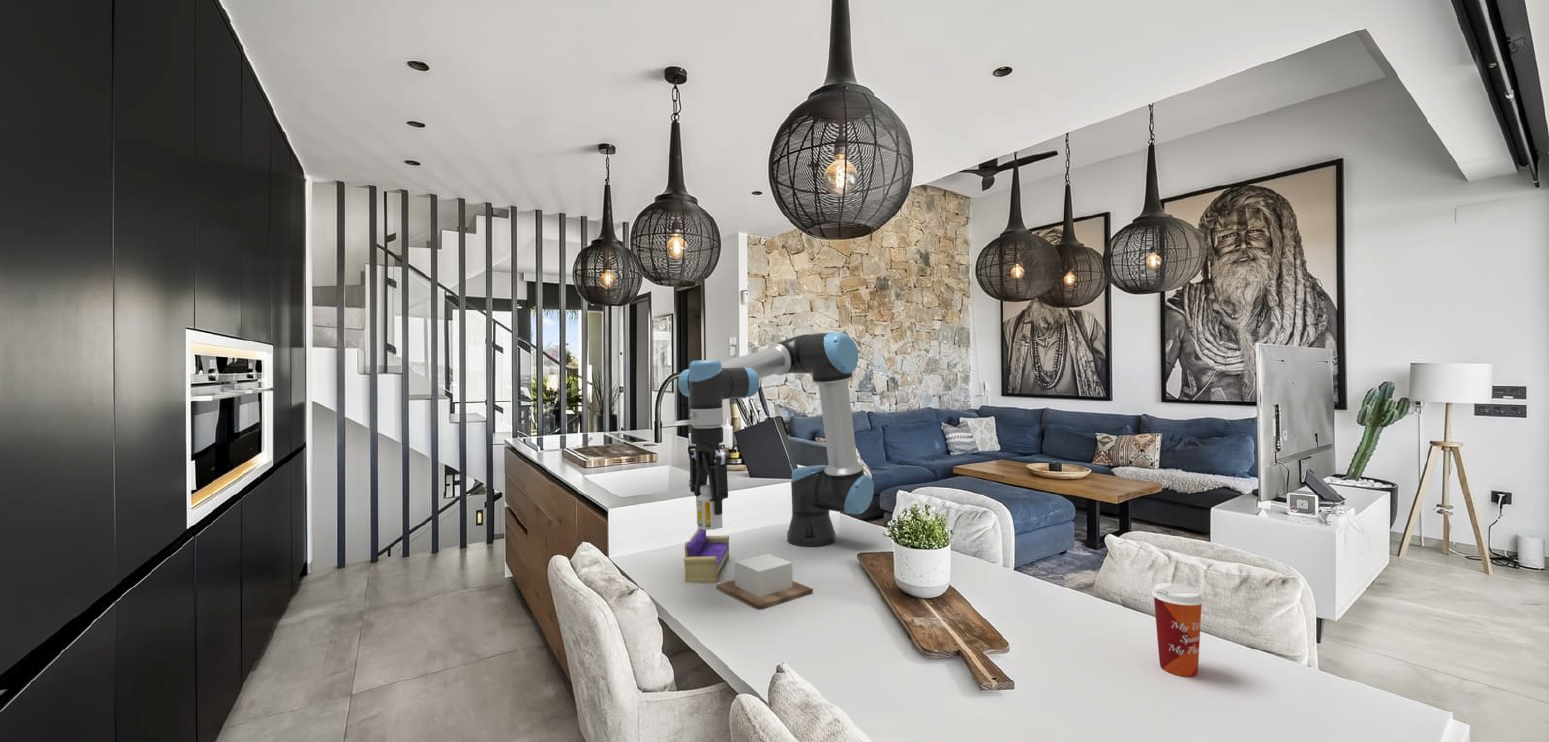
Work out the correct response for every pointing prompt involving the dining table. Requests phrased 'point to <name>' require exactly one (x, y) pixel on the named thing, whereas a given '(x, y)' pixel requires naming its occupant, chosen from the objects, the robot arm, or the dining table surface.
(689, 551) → the toy sofa
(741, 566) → the white plinth
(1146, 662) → the dining table surface
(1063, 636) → the dining table surface
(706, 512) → the supplement bottle
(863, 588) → the dining table surface
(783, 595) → the walnut board
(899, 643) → the dining table surface
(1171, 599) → the paper cup
